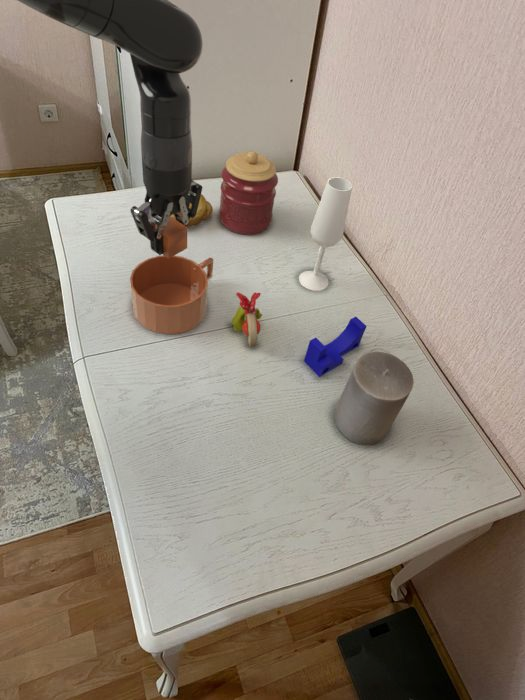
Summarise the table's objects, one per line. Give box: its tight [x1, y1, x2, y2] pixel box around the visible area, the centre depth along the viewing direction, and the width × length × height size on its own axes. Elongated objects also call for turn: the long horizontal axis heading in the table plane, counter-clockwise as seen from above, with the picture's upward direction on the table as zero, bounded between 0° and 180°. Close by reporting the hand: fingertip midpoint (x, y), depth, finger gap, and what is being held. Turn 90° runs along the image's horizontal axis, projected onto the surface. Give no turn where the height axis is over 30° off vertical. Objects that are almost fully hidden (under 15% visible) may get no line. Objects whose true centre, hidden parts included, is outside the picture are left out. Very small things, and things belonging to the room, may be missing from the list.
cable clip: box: [303, 316, 368, 378], centre depth 96 cm, size 12×4×6 cm, turn 128°
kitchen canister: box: [218, 150, 279, 236], centre depth 117 cm, size 13×13×18 cm
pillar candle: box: [333, 350, 415, 446], centre depth 83 cm, size 10×10×15 cm
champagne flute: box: [298, 176, 353, 292], centre depth 103 cm, size 7×7×24 cm
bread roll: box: [171, 193, 214, 228], centre depth 117 cm, size 13×10×8 cm
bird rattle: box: [230, 292, 263, 347], centre depth 95 cm, size 6×11×9 cm
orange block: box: [155, 216, 188, 259], centre depth 88 cm, size 4×4×4 cm
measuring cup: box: [129, 254, 214, 335], centre depth 99 cm, size 19×14×8 cm
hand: (168, 245), depth 89 cm, fingers closed on orange block, 4 cm apart
